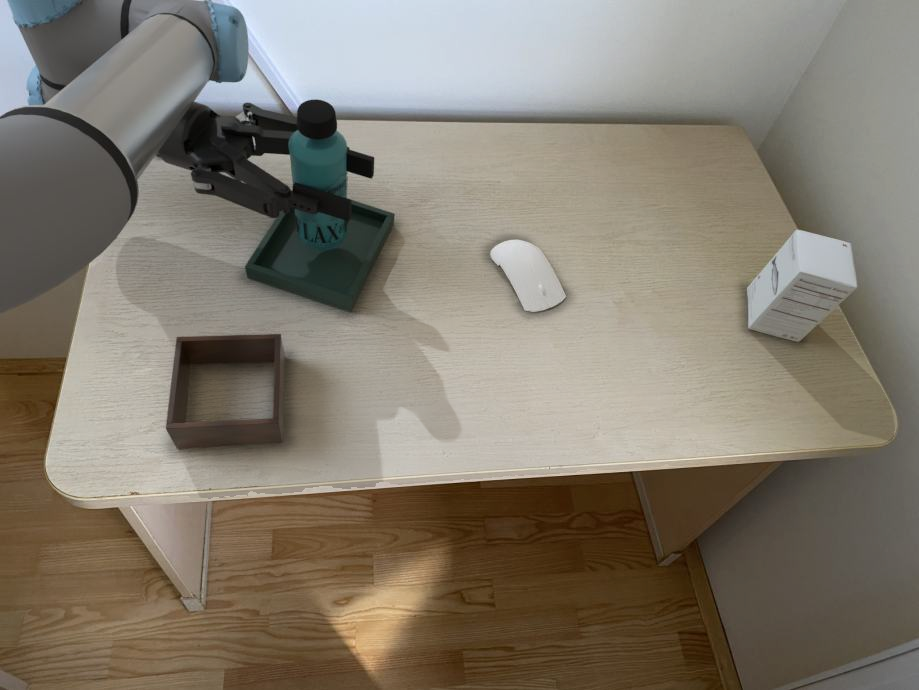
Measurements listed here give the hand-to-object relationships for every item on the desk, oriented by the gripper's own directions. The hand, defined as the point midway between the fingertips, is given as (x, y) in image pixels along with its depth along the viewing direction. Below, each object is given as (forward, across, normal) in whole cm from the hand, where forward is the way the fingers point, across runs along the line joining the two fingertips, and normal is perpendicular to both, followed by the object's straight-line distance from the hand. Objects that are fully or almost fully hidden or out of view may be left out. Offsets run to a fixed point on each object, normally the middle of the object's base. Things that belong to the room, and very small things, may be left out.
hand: (361, 188), depth 75 cm
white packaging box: (+55, -12, -13) cm, 58 cm away
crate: (-6, +24, -13) cm, 28 cm away
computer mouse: (+21, -6, -13) cm, 26 cm away
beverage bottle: (-5, 0, -11) cm, 12 cm away
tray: (-5, 0, -13) cm, 14 cm away
